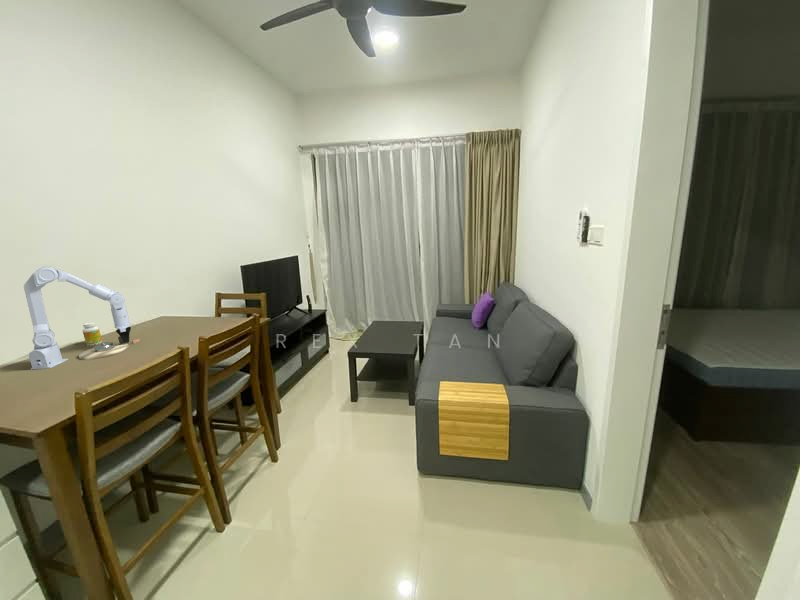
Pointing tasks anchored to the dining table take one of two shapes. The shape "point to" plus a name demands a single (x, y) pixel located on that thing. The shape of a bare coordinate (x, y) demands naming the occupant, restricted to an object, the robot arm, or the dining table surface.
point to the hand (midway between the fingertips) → (126, 342)
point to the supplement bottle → (91, 334)
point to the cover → (103, 346)
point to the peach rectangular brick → (135, 340)
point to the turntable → (92, 354)
